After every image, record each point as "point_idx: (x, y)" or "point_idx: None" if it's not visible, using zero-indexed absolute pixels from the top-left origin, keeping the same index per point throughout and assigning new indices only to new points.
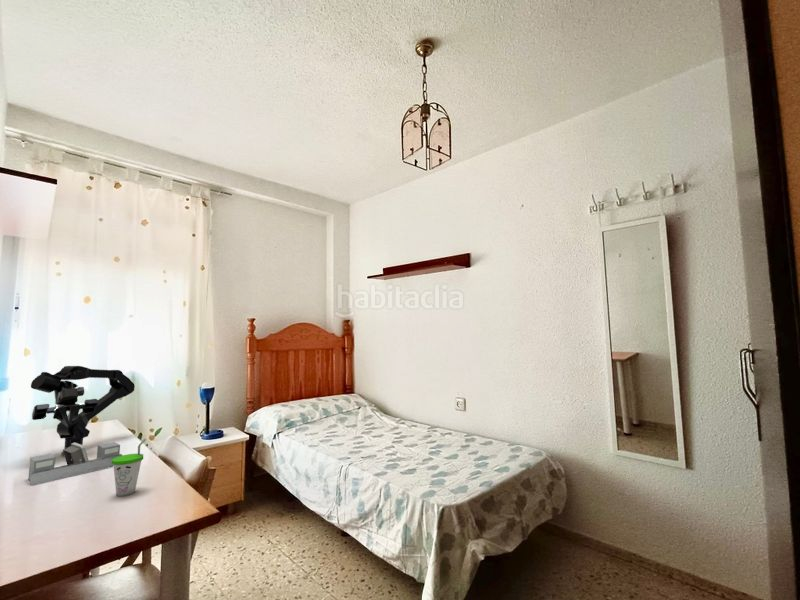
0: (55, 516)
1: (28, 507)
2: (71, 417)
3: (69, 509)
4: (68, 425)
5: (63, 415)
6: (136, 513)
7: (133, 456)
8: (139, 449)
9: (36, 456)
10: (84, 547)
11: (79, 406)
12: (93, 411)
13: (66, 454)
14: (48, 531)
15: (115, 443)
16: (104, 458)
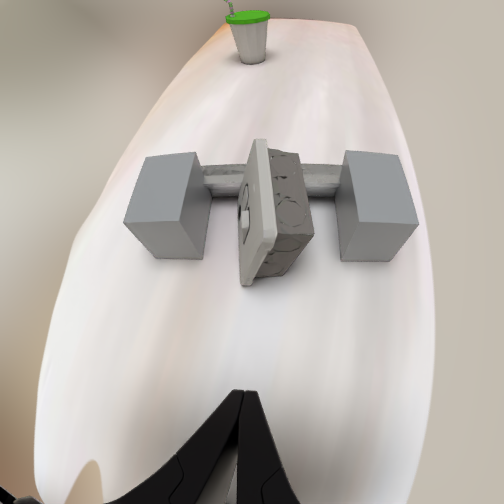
0: (333, 56)
1: (366, 90)
2: (196, 452)
3: (319, 60)
4: (251, 391)
5: (286, 501)
6: (268, 33)
7: (238, 16)
8: (231, 7)
9: (401, 218)
10: (315, 24)
11: (25, 498)
12: (12, 495)
13: (295, 249)
14: (338, 43)
15: (138, 188)
16: (203, 168)
